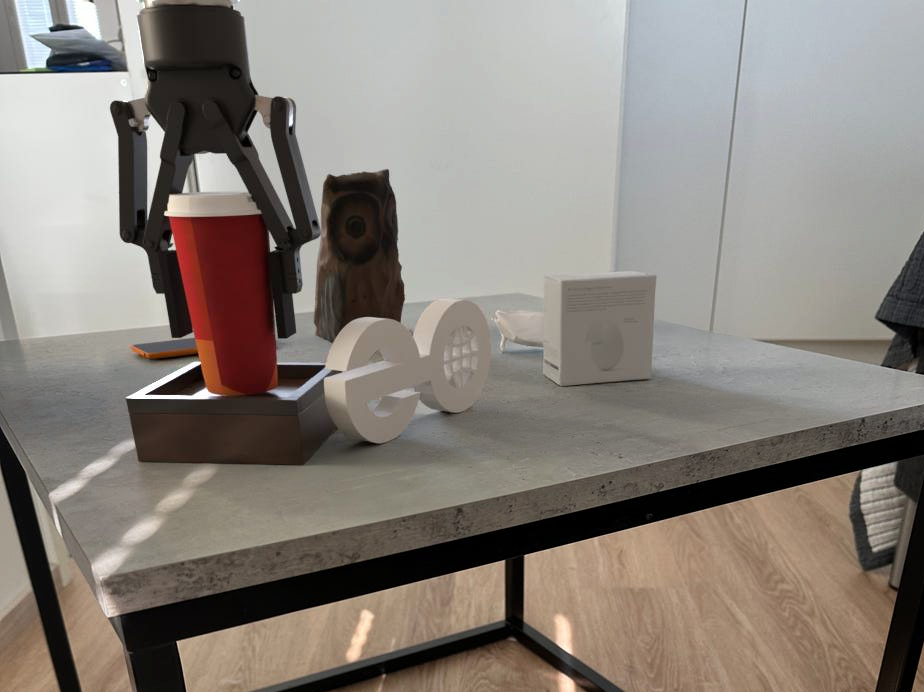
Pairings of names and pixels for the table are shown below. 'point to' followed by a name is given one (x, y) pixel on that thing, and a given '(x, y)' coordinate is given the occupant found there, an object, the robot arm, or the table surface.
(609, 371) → the cosmetics box
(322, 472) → the table surface
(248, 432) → the dark brown tray
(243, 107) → the robot arm
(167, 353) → the smartphone
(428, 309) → the letter
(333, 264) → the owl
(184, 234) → the coffee cup
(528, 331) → the pale pink animal figure
